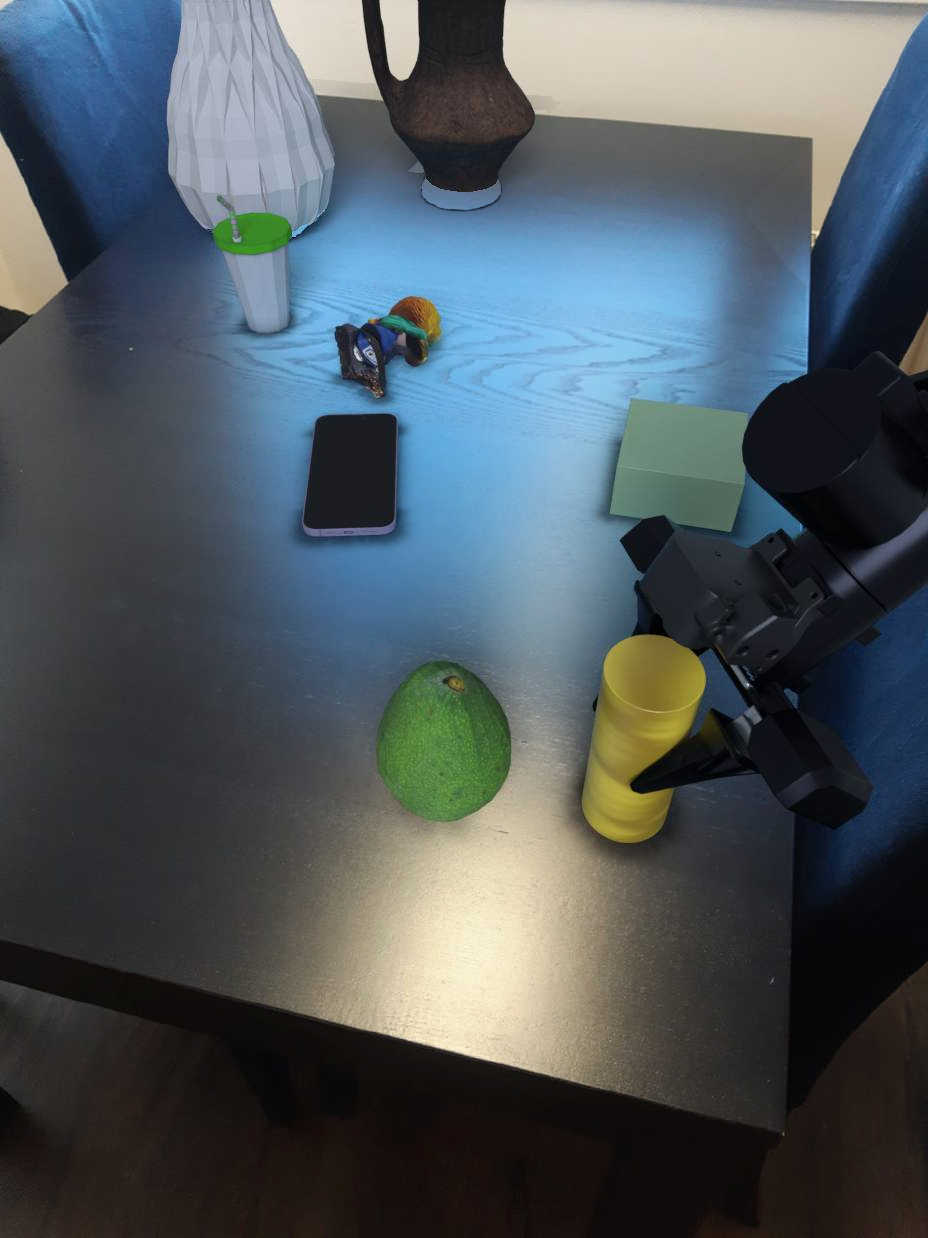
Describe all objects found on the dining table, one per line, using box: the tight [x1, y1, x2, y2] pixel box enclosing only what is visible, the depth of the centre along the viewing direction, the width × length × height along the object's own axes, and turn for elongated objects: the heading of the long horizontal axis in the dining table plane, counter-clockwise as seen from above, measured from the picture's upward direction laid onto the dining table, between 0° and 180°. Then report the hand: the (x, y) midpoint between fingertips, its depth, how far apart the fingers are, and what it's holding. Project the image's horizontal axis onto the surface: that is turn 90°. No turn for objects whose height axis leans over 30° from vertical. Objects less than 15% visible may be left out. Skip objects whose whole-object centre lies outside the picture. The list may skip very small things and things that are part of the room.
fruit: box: [375, 660, 512, 823], centre depth 51 cm, size 8×8×12 cm
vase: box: [166, 0, 336, 232], centre depth 102 cm, size 20×20×30 cm
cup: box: [211, 195, 292, 335], centre depth 91 cm, size 8×8×15 cm
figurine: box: [333, 295, 443, 399], centre depth 88 cm, size 11×8×6 cm, turn 128°
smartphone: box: [301, 412, 399, 537], centre depth 77 cm, size 8×1×16 cm
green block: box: [609, 397, 749, 533], centre depth 75 cm, size 10×10×5 cm
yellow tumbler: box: [581, 634, 707, 844], centre depth 50 cm, size 5×5×13 cm
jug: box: [361, 0, 536, 192], centre depth 109 cm, size 21×18×30 cm
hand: (614, 749), depth 50 cm, fingers closed on yellow tumbler, 5 cm apart
